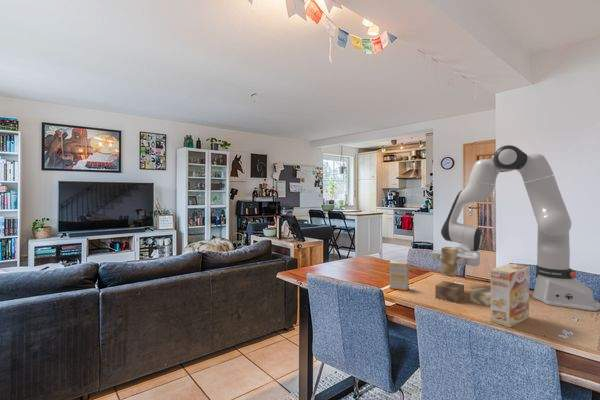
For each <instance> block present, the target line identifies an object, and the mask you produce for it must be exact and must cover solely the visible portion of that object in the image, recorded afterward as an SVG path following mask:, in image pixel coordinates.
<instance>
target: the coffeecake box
mask: <svg viewBox="0 0 600 400" xmlns="http://www.w3.org/2000/svg"><path fill="white" fill-rule="evenodd" d="M490 289H491V306H489V307H490V311H489V312H490V314H489V315H490V316H489V317H490V318H489V319H490V320H489V321H490V322H492V323H495V324H498V325H500V324H501V325H500V326H503V325H504V326H503V327H507V328H509V327H510V328H512V327H514V326H517V325H518V324H520V323H521V322H524V321H525V320H527V319H529V318H530V317H529V315H530V313H529V312H530V309H529V308H530V303H529V302H530V266H526V265H523V264H522V265H521V264H514V263H507V264H505V265H501V266H498V267H494V268H491V269H490Z"/></svg>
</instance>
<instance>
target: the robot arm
mask: <svg viewBox="0 0 600 400" xmlns="http://www.w3.org/2000/svg"><path fill="white" fill-rule="evenodd" d="M493 154H494V155H493V157H492V158H489V159H488V158H487V159H486V158H483V159H479V160H477V161H475V163H474V165H473V167H472V169H471V172H470V175H469V179H468V183H467V185H466V186H465V188H464V189H462V190H460V191H458V192H457V195H456V197H455V199H454V200H453V203H452V206H451V208H450V211H449V213H448V215H447V217H446V220H445V221H444V223H443V225H442V227H441V230H440V234H441V237H442V238H443V239H444V240H445V241H447V242H453V243H457V244H460V245H457V246H453V248H458V251H457V259H455V264H457V266H459V267H461V266H471V267H479V266H480V264H481V263H480V262H481V252H480V249H481V248H482V246H483V243H484V238H485V237H484V234H483V231H482V230H481V228H479V227H476V226H472V225H470V224H469V225H468V224H463V223H461V222H458V219H459V216H460V215H461V212H462V209H463V208H464V207H465V205H468V204H471V203H472V204H473V203H477V202H483V201H486V200H487V199H489V198H490V197H491V196H492V194H493V193H494V190H495V186H496V181H497V177H498V175H499V174H500V173H506V172H512V171H517V172H518V173H519V174H520V175H521V177H522V181H523V185H524V187H525V191H526V193H527V196H528V198H529V201H530V205H531V208H532V211H533V214H534V217H535V220H536V223H537V243H536V245H537V247H536V248H537V251H536V252H537V254H536V256H537V260H536V266H535V278H536V279H535V284H534V285H535V286H534V289H533V292H532V295H531V296H532V298H534V299H535V300H538V301H539V302H542V303H544V304H546V305H549V306H556V307H562V308H563V307H564V308H570V309H576V310H582V311H583V310H584V311H591V312H596V311H599V310H600V302H599V301H598V300H596V299H594V294H593V292H592V290H591V289H590V287H589V286H587V285H586V284H584V283H583V282H581V281H580V280H579V279H578V278H576V277H577V272H576V269H572V268H570V257H571V255H570V254H571V247H570V230H571V228H572V220H571V217H570V214H569V212H568V209H567V207H566V204H565V201H564V199H563V197H562V194H561V191H560V189H559V185H558V183H557V180H556V177H555V175H554V172H553V169H552V167H551V165H550V164H549V163H550V162H548V160H547V158H546V157H545V156H544V155H543V154H541V153H540V154H539V153H534V154H533V153H532V154H527V153H525V152H524V151H523V150H522V149H520V148H518V146H515V145H511V144H506V145H502V146H501V147H499V148H497V150H495V152H494V153H493ZM441 253H442V249H441V250H439V249H438V250H434V251H433V250H432V251H431V252H430V254H431V255H430V257H431V260H434V261H438V262H441Z"/></svg>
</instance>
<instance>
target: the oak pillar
mask: <svg viewBox="0 0 600 400" xmlns="http://www.w3.org/2000/svg"><path fill="white" fill-rule="evenodd" d="M441 251H442V253H441V261H440V262H441V264H440V266H441V267H440V271H441V272H440V274H441V276H444V277H450V278H454V277H456V276H457V275H458V265H457V264H455V259H457V251H458V248H454V246H453V247H451V246H444V247H441Z"/></svg>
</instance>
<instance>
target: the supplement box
mask: <svg viewBox="0 0 600 400" xmlns="http://www.w3.org/2000/svg"><path fill="white" fill-rule="evenodd" d="M388 266H389V289H390V288H391V290H392V289H393V290H399V291H406V292H407V291H408V290H409V288H410V285H409V284H410V281H409V280H410V279H409V277H410V276H409V271H410V270H409V262H408V261H402V260H401V261H400V260H391V261H390V262H389V265H388Z"/></svg>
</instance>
